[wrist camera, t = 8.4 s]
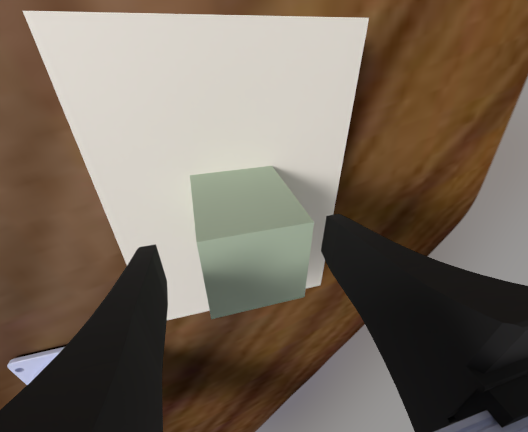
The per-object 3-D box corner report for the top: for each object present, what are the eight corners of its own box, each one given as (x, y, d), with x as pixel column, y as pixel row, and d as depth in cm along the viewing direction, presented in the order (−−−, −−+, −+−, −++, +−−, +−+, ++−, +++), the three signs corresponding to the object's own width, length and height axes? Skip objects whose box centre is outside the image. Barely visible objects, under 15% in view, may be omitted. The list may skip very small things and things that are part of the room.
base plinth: (304, 258, 22) (320, 285, 20) (153, 288, 19) (151, 323, 17) (333, 21, 13) (369, 17, 11) (58, 16, 10) (22, 10, 8)
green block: (270, 229, 15) (304, 296, 11) (201, 241, 14) (211, 319, 10) (272, 165, 13) (314, 222, 9) (189, 175, 12) (196, 242, 8)
